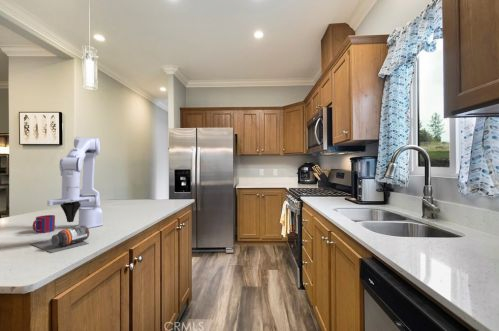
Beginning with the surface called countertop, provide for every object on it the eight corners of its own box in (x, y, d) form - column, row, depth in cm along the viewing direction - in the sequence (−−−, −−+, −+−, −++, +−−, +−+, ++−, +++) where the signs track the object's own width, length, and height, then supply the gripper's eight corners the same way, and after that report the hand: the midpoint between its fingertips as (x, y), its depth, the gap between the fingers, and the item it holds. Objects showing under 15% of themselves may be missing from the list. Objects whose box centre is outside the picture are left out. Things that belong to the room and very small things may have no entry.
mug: (58, 229, 114) (58, 215, 114) (39, 235, 104) (39, 219, 104) (44, 229, 115) (45, 214, 115) (24, 235, 105) (24, 219, 105)
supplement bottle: (81, 241, 98) (50, 250, 88) (78, 227, 99) (47, 234, 88) (91, 237, 96) (61, 246, 86) (88, 223, 97) (57, 230, 86)
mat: (66, 236, 103) (66, 235, 103) (88, 243, 94) (88, 243, 94) (30, 244, 93) (30, 243, 93) (50, 253, 83) (50, 252, 83)
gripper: (53, 189, 88) (52, 226, 88) (95, 186, 101) (95, 219, 100) (45, 188, 92) (44, 224, 92) (86, 185, 104) (86, 217, 104)
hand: (70, 221), depth 96 cm, fingers closed
